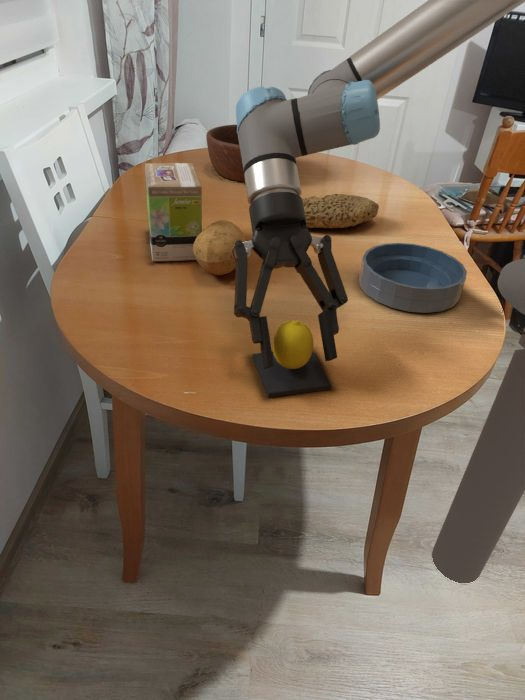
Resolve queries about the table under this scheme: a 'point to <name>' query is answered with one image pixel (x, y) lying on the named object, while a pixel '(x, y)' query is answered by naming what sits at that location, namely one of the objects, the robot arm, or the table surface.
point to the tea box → (173, 210)
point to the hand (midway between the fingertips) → (300, 363)
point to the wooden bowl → (225, 152)
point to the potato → (217, 247)
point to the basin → (412, 277)
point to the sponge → (338, 211)
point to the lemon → (293, 344)
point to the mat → (291, 377)
